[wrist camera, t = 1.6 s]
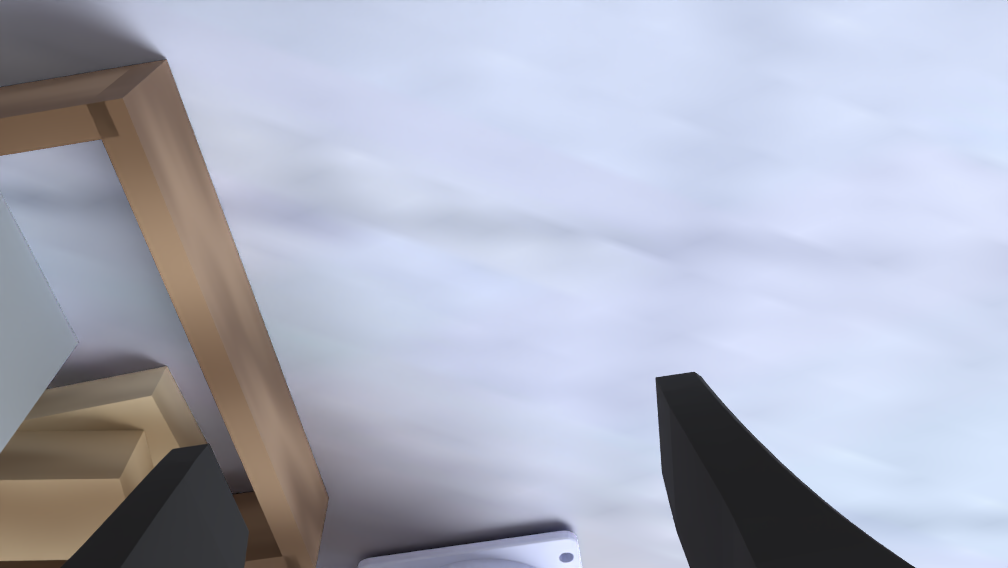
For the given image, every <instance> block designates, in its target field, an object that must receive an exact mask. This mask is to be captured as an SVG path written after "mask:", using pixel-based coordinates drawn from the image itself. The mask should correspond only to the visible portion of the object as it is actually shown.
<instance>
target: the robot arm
mask: <svg viewBox="0 0 1008 568" xmlns="http://www.w3.org/2000/svg"><path fill="white" fill-rule="evenodd" d="M656 392H657V407H658V421H659V436H660V451H661V466H662V475H663V479H664V483H665V487H666V491H667V495H668V499H669V503H670V507H671V511H672V515H673V519H674V523H675V527H676V531H677V534H678V536H679V539H680V542H681V545H682V547H683V550H684V553H685V556H686V558H687V561H688V564H689V566H690V568H915V567H914V566H912V565H910V564H909V563H907V562H906V561H905V560H903V559H902V558H900V557H899V556H897V555H896V554H894V553H893V552H892V551H890V550H889V549H887V548H886V547H884V546H883V545H881V544H880V543H879V542H877V541H876V540H874V539H873V538H872V537H870V536H869V535H868V534H866V533H865V532H864V531H862V530H861V529H860V528H858V527H857V526H856V525H854V524H853V523H852V522H850V521H849V520H848V519H846V518H845V517H844V516H843V515H841V514H840V513H839V512H838V511H836V510H835V509H834V508H833V507H831V506H830V505H829V504H828V503H827V502H825V501H824V500H823V499H822V498H821V497H819V496H818V495H817V494H816V493H815V492H814V491H812V490H811V489H810V488H809V487H808V486H807V485H806V484H804V483H803V482H802V481H801V480H800V479H799V478H798V477H796V476H795V475H794V474H793V473H792V472H791V471H790V470H789V469H788V468H787V467H786V466H784V465H783V464H782V463H781V462H780V461H779V460H778V459H777V458H776V457H775V456H774V455H773V454H772V453H771V452H770V451H769V450H768V449H767V448H766V447H765V446H764V445H763V444H762V443H761V442H760V441H759V440H758V439H757V438H756V437H755V436H754V435H753V434H752V433H751V432H750V431H749V430H748V429H747V428H746V427H745V426H744V425H743V424H742V423H741V422H740V421H739V420H738V419H737V417H736V416H735V415H734V414H733V413H732V412H731V411H730V410H729V409H728V408H727V407H726V405H725V404H724V403H723V402H722V401H721V400H720V399H719V397H718V396H717V395H716V394H715V393H714V392H713V390H712V389H711V388H710V387H709V386H708V384H707V383H706V382H705V381H704V379H703V378H702V377H701V376H700V375H698V374H697V373H695V372H690V373H683V374H676V375H669V376H663V377H656ZM248 536H249V530H248V528H247V526H246V524H245V521H244V519H243V517H242V515H241V513H240V511H239V508H238V506H237V504H236V502H235V500H234V497H233V495H232V493H231V491H230V489H229V486H228V484H227V482H226V480H225V478H224V475H223V473H222V471H221V469H220V467H219V464H218V462H217V460H216V458H215V456H214V453H213V451H212V449H211V447H210V445H209V444H202V445H196V446H189V447H182V448H175V449H172V450H171V451H170V452H169V453H168V454H167V455H166V456H165V457H164V458H163V459H162V460H161V461H160V462H159V463H158V464H157V465H156V466H155V467H154V468H153V469H152V470H151V471H150V472H149V473H148V475H147V476H146V477H145V478H144V479H143V480H142V481H141V482H140V483H139V484H138V485H137V487H136V488H135V489H134V490H133V491H132V492H131V493H130V494H129V495H128V496H127V498H126V499H125V500H124V501H123V502H122V503H121V504H120V505H119V506H118V507H117V508H116V510H115V511H114V512H113V513H112V514H111V515H110V516H109V517H108V518H107V519H106V520H105V521H104V522H103V524H102V525H101V526H100V527H99V528H98V529H97V530H96V531H95V532H94V533H93V534H92V535H91V536H90V538H89V539H88V540H87V541H86V542H85V543H84V544H83V545H82V546H81V547H80V548H79V549H78V550H77V551H76V552H75V553H74V554H73V555H72V556H71V557H70V558H69V559H68V560H67V561H66V562H65V563H64V564H63V565H62V566H61V567H60V568H244V566H245V559H246V551H247V543H248ZM563 553H567V554H563ZM357 568H582V564H581V557H580V551H579V544H578V538H577V536H576V535H575V534H574V533H573V532H570V531H556V532H549V533H542V534H535V535H528V536H521V537H514V538H506V539H499V540H492V541H485V542H478V543H471V544H464V545H457V546H450V547H443V548H436V549H429V550H421V551H414V552H407V553H400V554H393V555H386V556H379V557H372V558H367V559H364V560H362V561H361V562H359V564H358V567H357Z"/></svg>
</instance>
